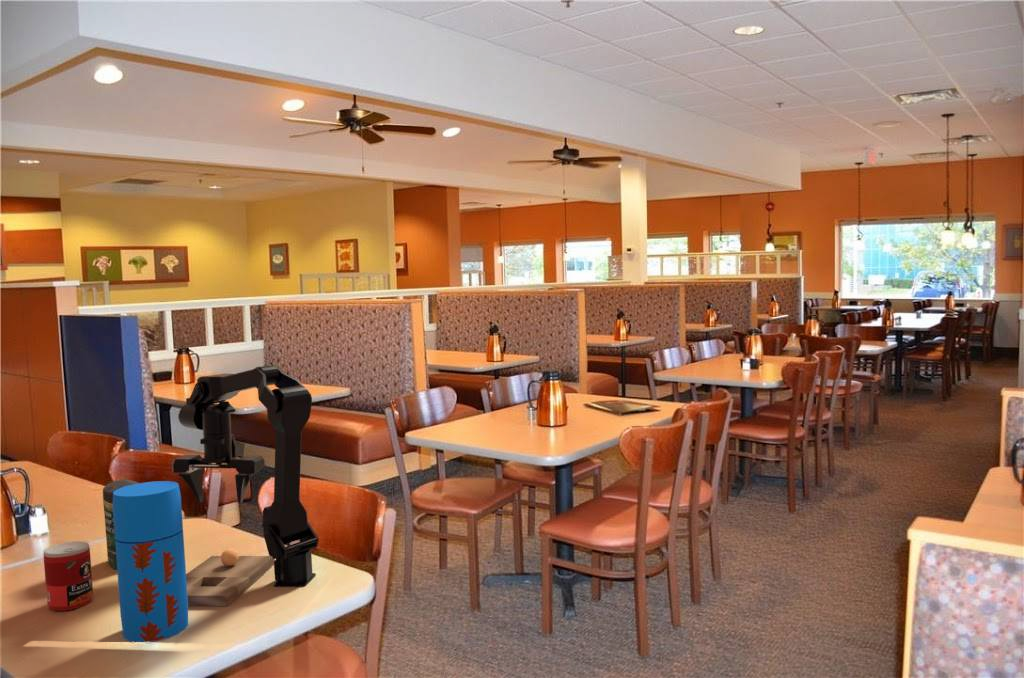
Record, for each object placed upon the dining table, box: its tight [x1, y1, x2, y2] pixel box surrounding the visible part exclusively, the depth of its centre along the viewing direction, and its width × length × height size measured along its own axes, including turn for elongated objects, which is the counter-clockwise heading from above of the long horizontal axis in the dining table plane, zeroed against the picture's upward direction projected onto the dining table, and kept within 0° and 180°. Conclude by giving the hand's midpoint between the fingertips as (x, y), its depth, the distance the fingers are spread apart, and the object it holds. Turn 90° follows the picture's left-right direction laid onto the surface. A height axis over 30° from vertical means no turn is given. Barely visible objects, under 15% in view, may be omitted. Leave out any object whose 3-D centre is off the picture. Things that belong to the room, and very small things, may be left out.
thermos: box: [113, 480, 189, 643], centre depth 140 cm, size 11×11×25 cm
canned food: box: [42, 540, 94, 612], centre depth 154 cm, size 8×8×11 cm
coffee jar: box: [102, 478, 140, 571], centre depth 175 cm, size 10×8×19 cm
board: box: [186, 555, 276, 607], centre depth 162 cm, size 14×22×2 cm, turn 174°
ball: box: [220, 548, 240, 566], centre depth 167 cm, size 4×4×4 cm
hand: (220, 502), depth 176 cm, fingers open, 9 cm apart
